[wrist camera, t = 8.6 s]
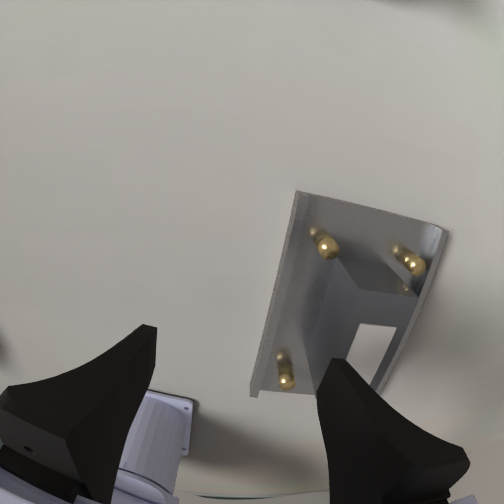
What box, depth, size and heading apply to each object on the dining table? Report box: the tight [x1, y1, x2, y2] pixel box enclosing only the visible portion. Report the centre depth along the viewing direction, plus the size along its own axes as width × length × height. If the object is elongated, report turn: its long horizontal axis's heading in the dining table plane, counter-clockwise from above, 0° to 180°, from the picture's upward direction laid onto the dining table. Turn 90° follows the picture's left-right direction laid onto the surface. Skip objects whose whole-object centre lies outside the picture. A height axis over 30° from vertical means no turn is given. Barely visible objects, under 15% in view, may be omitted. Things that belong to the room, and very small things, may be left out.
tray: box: [250, 191, 449, 397], centre depth 21 cm, size 16×11×3 cm
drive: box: [306, 256, 419, 399], centre depth 20 cm, size 8×4×5 cm, turn 169°
